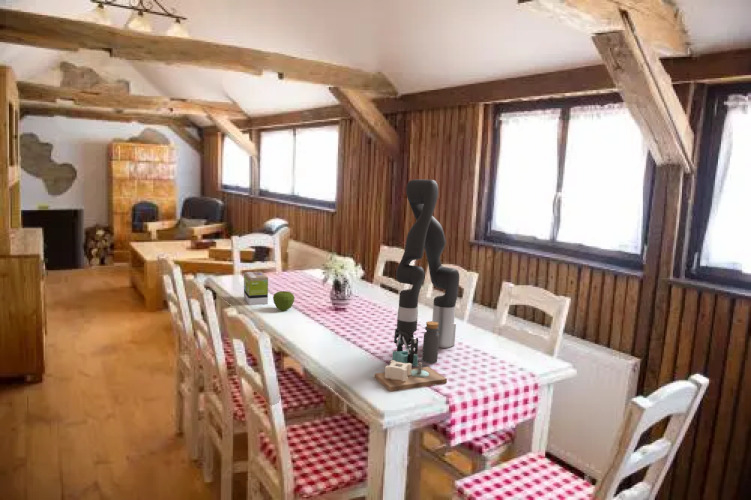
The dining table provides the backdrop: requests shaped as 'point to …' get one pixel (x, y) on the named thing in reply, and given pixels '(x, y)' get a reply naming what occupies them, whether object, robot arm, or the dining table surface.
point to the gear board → (412, 379)
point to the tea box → (255, 288)
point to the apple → (283, 300)
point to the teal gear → (404, 357)
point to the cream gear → (398, 370)
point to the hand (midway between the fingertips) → (404, 359)
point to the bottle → (430, 342)
